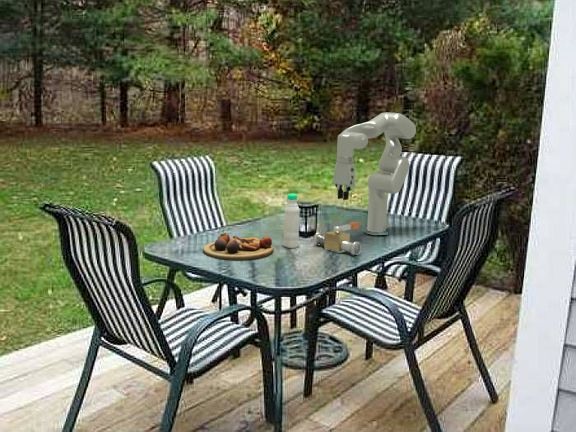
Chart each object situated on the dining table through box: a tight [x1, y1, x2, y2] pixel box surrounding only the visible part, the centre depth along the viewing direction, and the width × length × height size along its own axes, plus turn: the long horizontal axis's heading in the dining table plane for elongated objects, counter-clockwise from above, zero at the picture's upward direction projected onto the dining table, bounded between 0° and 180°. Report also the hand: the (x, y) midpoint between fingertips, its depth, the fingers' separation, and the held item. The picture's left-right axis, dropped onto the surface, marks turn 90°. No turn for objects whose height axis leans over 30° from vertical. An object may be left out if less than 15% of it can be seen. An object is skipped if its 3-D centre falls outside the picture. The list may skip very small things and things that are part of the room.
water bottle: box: [283, 193, 301, 249], centre depth 290 cm, size 7×7×25 cm
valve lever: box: [333, 221, 360, 233], centre depth 291 cm, size 16×4×3 cm, turn 134°
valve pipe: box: [312, 230, 363, 255], centre depth 288 cm, size 7×24×9 cm, turn 44°
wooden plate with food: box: [202, 232, 274, 261], centre depth 283 cm, size 32×32×8 cm
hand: (343, 198), depth 295 cm, fingers open, 2 cm apart
